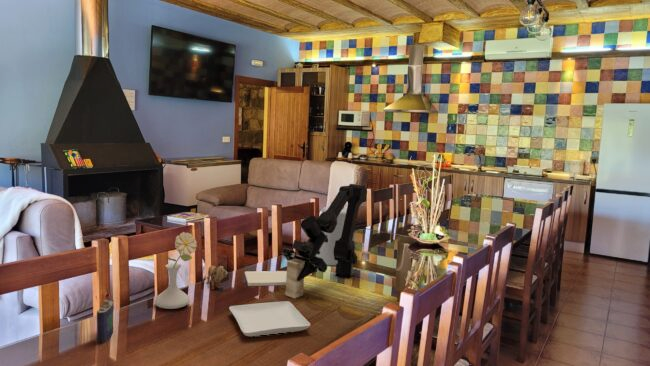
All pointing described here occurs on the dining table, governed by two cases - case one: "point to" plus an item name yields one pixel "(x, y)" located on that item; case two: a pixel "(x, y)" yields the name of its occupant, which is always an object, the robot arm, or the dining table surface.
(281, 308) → the salad plate
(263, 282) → the platter
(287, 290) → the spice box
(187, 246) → the flower in vase
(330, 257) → the plastic bottle
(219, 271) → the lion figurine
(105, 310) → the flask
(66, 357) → the dining table surface
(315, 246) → the robot arm
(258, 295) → the dining table surface
